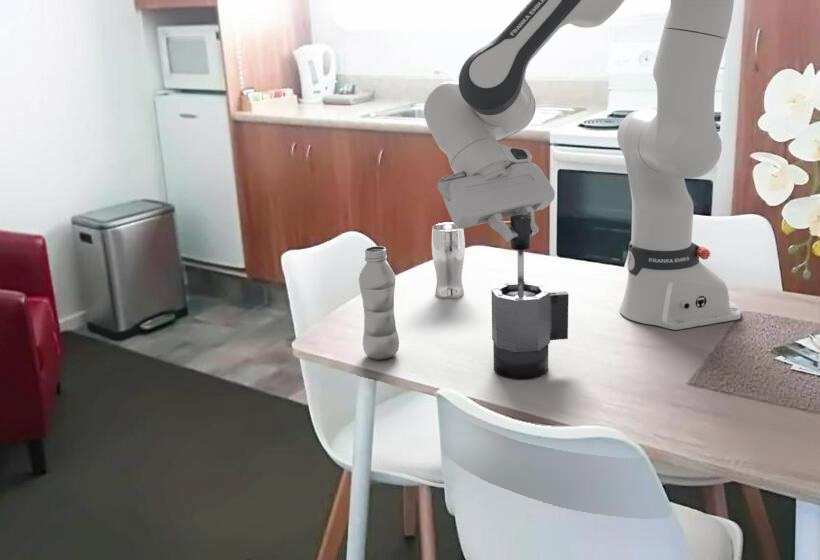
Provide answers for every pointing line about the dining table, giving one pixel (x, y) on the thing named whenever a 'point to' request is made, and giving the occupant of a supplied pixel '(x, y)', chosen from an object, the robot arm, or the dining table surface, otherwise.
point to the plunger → (521, 250)
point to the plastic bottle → (378, 305)
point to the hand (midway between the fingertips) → (523, 236)
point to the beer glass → (448, 259)
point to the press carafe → (526, 329)
